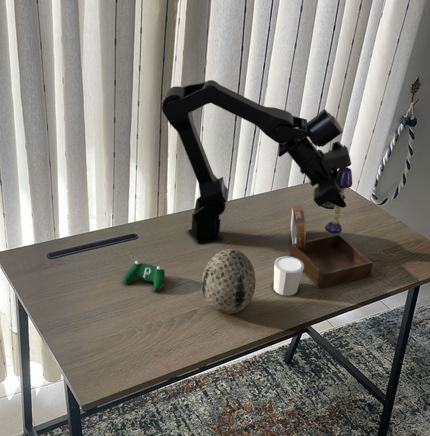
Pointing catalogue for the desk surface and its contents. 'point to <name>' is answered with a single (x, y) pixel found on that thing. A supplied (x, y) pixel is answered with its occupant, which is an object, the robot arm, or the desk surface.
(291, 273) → the white short cylinder
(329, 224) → the toy lamp
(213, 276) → the decorative egg
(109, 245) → the desk surface
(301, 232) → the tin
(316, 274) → the wooden tray
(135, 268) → the gaming controller
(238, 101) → the robot arm
